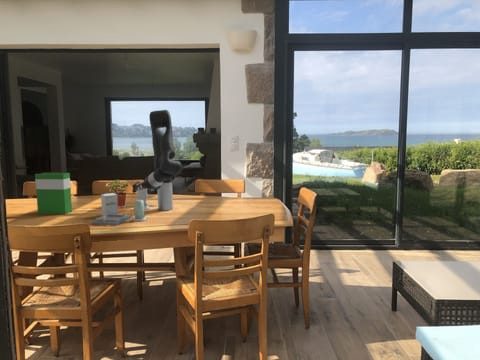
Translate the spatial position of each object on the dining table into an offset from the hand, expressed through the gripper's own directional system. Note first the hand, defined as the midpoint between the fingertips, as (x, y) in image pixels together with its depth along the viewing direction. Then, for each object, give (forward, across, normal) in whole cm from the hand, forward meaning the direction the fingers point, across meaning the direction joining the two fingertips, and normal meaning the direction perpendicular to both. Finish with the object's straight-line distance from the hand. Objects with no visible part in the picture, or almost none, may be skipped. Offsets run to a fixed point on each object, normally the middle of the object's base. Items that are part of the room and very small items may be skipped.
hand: (140, 191), depth 220 cm
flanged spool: (+10, -2, +13) cm, 17 cm away
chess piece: (+32, -18, -1) cm, 37 cm away
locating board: (+17, +10, +11) cm, 23 cm away
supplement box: (+30, +5, +3) cm, 31 cm away
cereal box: (+58, +26, -9) cm, 65 cm away
